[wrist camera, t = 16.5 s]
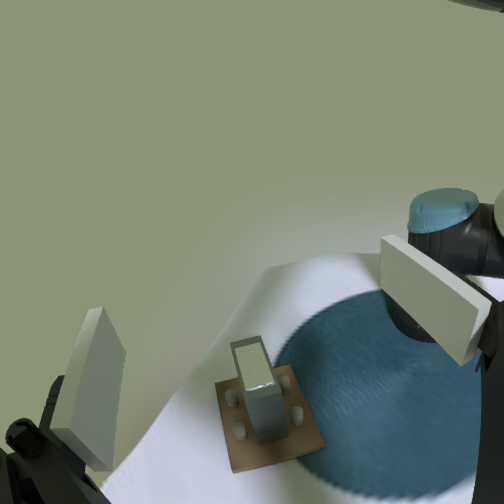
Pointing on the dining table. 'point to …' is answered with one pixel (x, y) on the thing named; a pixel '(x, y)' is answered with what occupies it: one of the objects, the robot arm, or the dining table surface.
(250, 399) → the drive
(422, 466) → the dining table surface
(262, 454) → the pin tray
